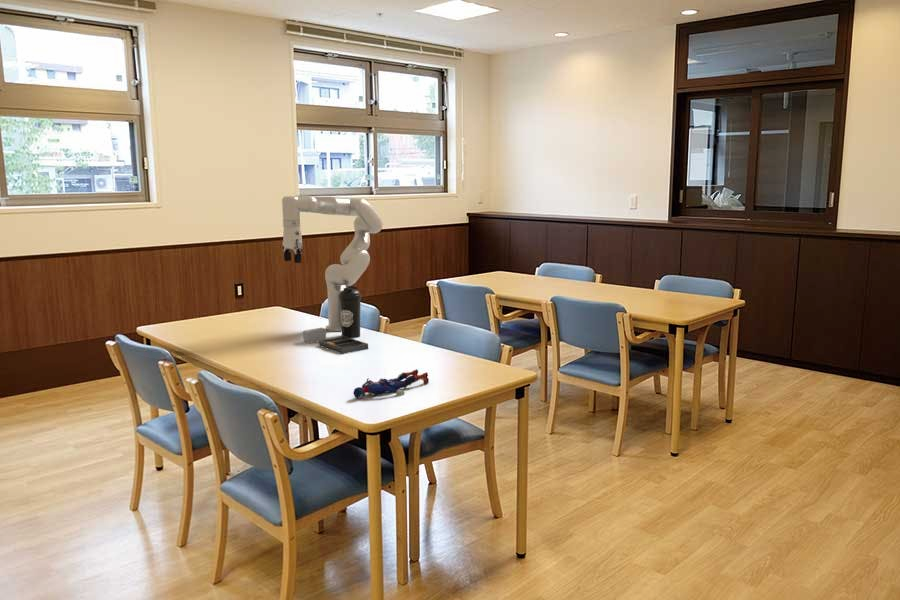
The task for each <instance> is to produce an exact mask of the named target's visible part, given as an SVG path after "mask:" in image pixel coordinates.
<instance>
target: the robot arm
mask: <svg viewBox="0 0 900 600" xmlns="http://www.w3.org/2000/svg"><path fill="white" fill-rule="evenodd" d="M281 205H282V227H283V235H282V238H283V239H282V242H281V244H282V249H283V250H282V251H283V260H284V262H290V261H292V252H291V250H292V251H294V254H293V260H294V262H293V263H295V264H300V263H302V251H303V238H302V237H303V236H302V230H301V213H313V214H322V215H326V216H327V215H328V216H329V215H330V216H345V217H346V216H348V217H355V219H354V222H353V228H354V237H353V239H352V241H351V242H350V243H349V244H348V245H347V246H346V248H345V249H344V250H343V252H342V253H341V254H340V260H339V261H340V263H341V264H339V263H334V264H330V265H329V266H328V267H326V269H325V271H324V272H325V273H324V276H325V277H324V278H325V283H326V289H327V312H328V313H327V314H328V315H327V316H328V325H326V326H325V329H326V331H329V332H342V330H341V313H340V300H339V294H340V292H341V291H342V288H347V287H349V286H353V285H354V284H356V282H357V281H358V280H359V279H360V277H361V276H362V275H363V273H364V272H365V271H366V270H367V268H368V266H369V265H370V261H371V257H370V254H369V252H368V249H369V248H370V244H371V237H370V236H371V235H370V234H377V233H379V232H381V230H382V229H383V221H382V220H383V219H382V218H381V217H380V216H379V214H378V213H377V211H376V210H375V209H374V208H373V206H372V205H371V204H370V203H369V202H368V201H367V200H365V199H364V198H353V197H338V196H312V195H294V196H292V195H291V196H290V195H289V196H288V195H287V196H283V197H282V200H281Z"/></svg>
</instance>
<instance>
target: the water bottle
mask: <svg viewBox="0 0 900 600" xmlns="http://www.w3.org/2000/svg"><path fill="white" fill-rule="evenodd" d="M339 300H340V313H341V330H342V331H341V337H342V336H345V337H348V338H351V339H355V338H356V339H357V338H359V337H361V300H362V294H361V292H360V291H359V290H358V286H353V285H351V286H348V287H346V288H342V291H341V292H340V294H339Z"/></svg>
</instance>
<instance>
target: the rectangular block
mask: <svg viewBox="0 0 900 600" xmlns="http://www.w3.org/2000/svg"><path fill="white" fill-rule="evenodd" d="M326 332H327V330H326V327H325V328H323V327H318V328H312V329H306V330H302V335H303V338H302V339H303V343H304V342H306V343H305V344H307V343H309V344H312V343H311V342H314V343H318V342H317V341H319V340H325V339H327V333H326Z"/></svg>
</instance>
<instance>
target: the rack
mask: <svg viewBox="0 0 900 600" xmlns="http://www.w3.org/2000/svg"><path fill="white" fill-rule="evenodd" d="M319 345H320V346H319ZM318 346H319V347H321V346H323V347H322V348H324V347H325V348H324V349H327V348H328V349H327V350H329V351H333V352H336V353H338V352H339V354H341V353H342V355H344V354H349V352H350V353H353V352H360V351H365V350H368V349H369V343H367V342H365V341H360V340H358V339H355V338H348V337H345V336H342V335H341V336H337V337H331V338H326V339H325V340H319V342H318Z"/></svg>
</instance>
